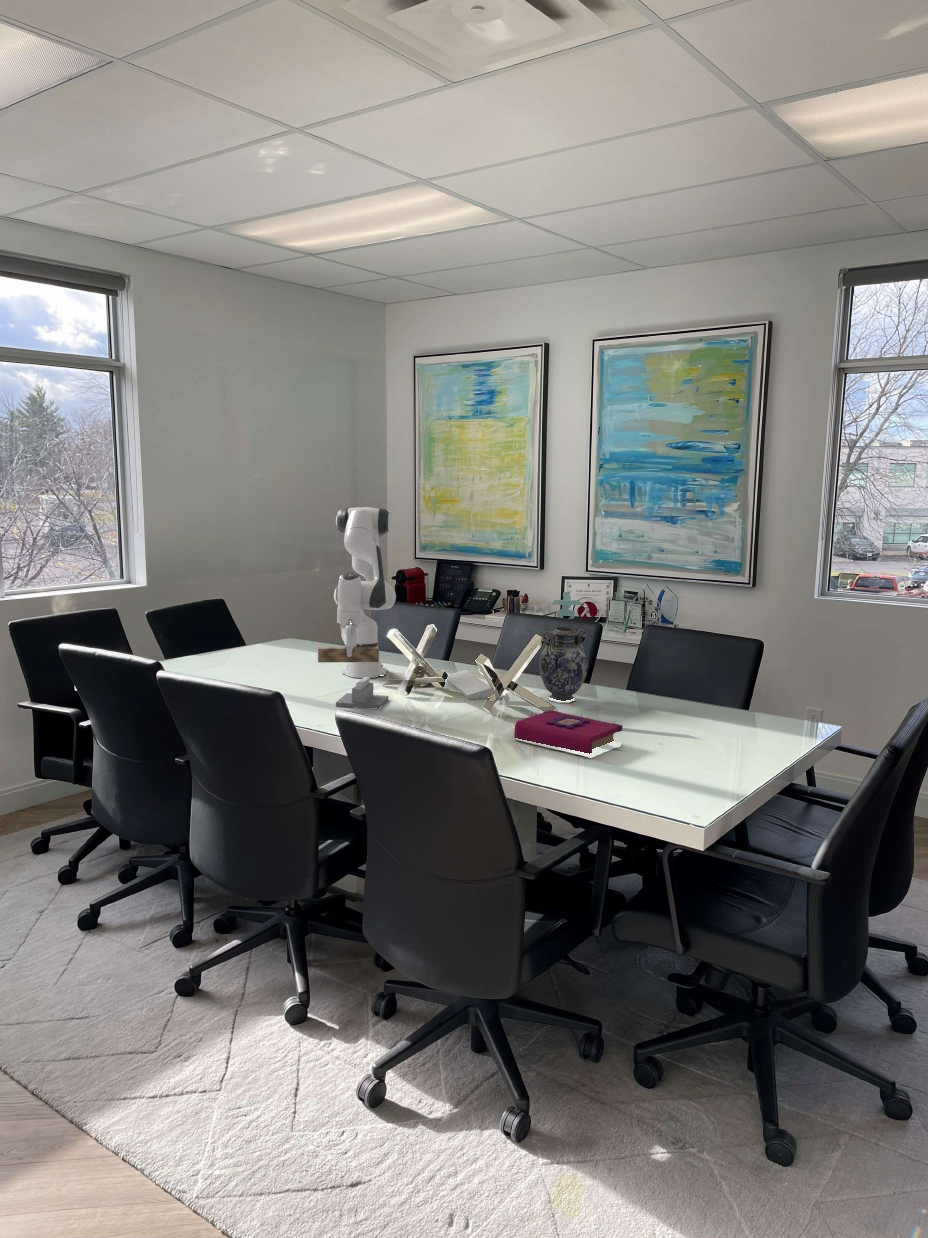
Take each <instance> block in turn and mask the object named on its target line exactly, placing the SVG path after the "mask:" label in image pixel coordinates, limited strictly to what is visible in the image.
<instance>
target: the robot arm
mask: <svg viewBox="0 0 928 1238" xmlns="http://www.w3.org/2000/svg"><path fill="white" fill-rule="evenodd" d="M335 517H336V518H335V524H336V527H337V530H338V532H339V533H342V534H344V536H343V541H344V543H343V544H344V548H345V550H346V551H347V552H348V553H349V555H351V567H352V569H353V571H354V572H346V573H345V572H344V573H342V574H340V576H339V578H338V579H339V580H338V582H337V583H338V584H337V586H336V588H335V589H334V592H333V599H334V602H335V604H336V606H337V609H336V610H337V611H336V623H337V624H339V625H340V633H341V634H340V635H341V639H342V641H343V643H344V647H347V657H351V656H352V649H353V647H378V648H379V646H380V645H379V644H380V643H379V640H378V624H377V622H376V621H375V620H374V619H372V618H371V617H369V616H367V615H366V614H365V612H364V611H365V610H370V611H373V610H374V611H381V610H389V609H392V607H393V606H394V605H395V603H396V599H397V595H396V591H395V589H394V588H393V586H392V585H390V584H389V583H388V582H387V581H386V580H385V574H384V571H385V570H384V565H383V564H384V563H383V557H382V551H381V548H380V540H379V537H380V538H381V537H382V536H383V535H386V534H388V532H389V530H390V528H391V526H392V517H391V515H390V512H389V511H388V510H387V509H385V508H381V507H379V508H377V507H376V508H375V507H369V506H368V507H367V506H364V507H342V508H340V509H339V510H338V511H337V514H336V516H335ZM355 572H356V573H355ZM361 576H363V577H364V579H365V580H362V579H361ZM379 649H380V648H379ZM382 663H383V661H382V656H381V653H380V652H379V662H345V669H344V670H342V671H341V674H342V675H345V676H347V677H351V678H356V679H357V678H358V679H363V678H364V677H370V679H373V678H379V677H378V676H380V675H385V674H386V675H387V672H388V671H387V670H388V669H387V667H386V666H383V664H382Z"/></svg>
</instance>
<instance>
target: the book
mask: <svg viewBox="0 0 928 1238" xmlns="http://www.w3.org/2000/svg"><path fill="white" fill-rule="evenodd" d="M513 731H514V733H513V734H514V736H513V737H514V738H518V739H522V740H527V741H532V742H536V743H541V744H546V745H550V746H555V747H561V748H566V749H570V750H575V751H580V752H584V753H589V754H590V753H592V749H594V748H596V747H600V746H602V745H605V744H607V743H610V742H612V741H614V740H615V739H614V734H615V733H619V732H622V731H623V725H622V724H618V723H614V722H613V723H611V722H607V721H603V720H597V719H593V718H588V717H583V716H578V715H574V714H569V713H565V712H562V711H557V710H551V709H550V710H546V711H543V712H541V713H537V714H535V715H532V716H528V717H525V718H523V719H519V720H517V721H516V722H515V724H514V730H513Z"/></svg>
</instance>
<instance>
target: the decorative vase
mask: <svg viewBox="0 0 928 1238" xmlns="http://www.w3.org/2000/svg"><path fill="white" fill-rule="evenodd" d="M541 638H542V639H541V641H542V643H544V645H545V647H544V649H542V650H541V653H540V655H539V660H538V667H539V674H540V678H541V681H542V683H543V685H544V687H545V689H546V690H547V691H548V692H549V693H551V694H550V695H549V696H548V697H550V698H553V699H556V700H561V701H566V700H571V699H573V698H575V697H574V696H573V695H574V694H575V693H577V692H578V691H579V690H580V689H581V687H582V685H583V683H584V682H585V679H586V676H587V674H588V673H587V672H588V667H589V666H588V665H589V661H588V660H589V659H588V655H587V653H586V651H585V650H584V645H583V642H585V640H587V631H586V629H583V628H582V629H581V628H580V629H579V630H578V631H577V630H576V628H574V627H573V628H572V627H567V626H565V627H563V626H559V627H555V628H554V630H552V632H551V631H550V630H545V631H543V633H542V635H541Z"/></svg>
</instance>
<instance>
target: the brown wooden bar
mask: <svg viewBox="0 0 928 1238" xmlns="http://www.w3.org/2000/svg"><path fill="white" fill-rule="evenodd" d="M379 653H380V648H378V647H353V649H352V656H351V657H347V647H345V646H344V647H339V646H337V647H335V646H334V647H331V646H330V647H325V646H324V647H320V646H319V647H317V663H346V662H379Z"/></svg>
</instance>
